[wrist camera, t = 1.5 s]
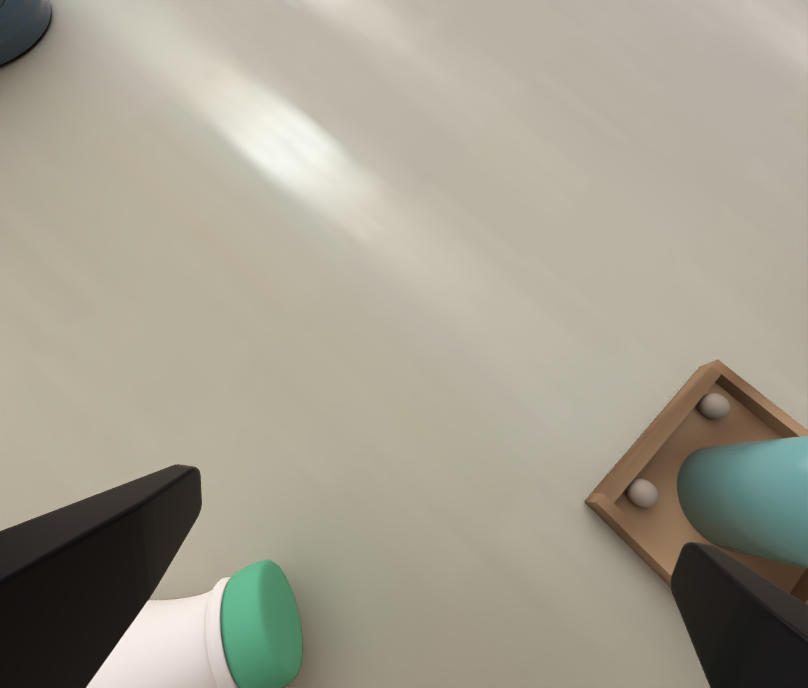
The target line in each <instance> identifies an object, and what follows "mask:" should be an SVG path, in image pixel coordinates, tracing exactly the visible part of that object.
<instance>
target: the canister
mask: <svg viewBox="0 0 808 688" xmlns="http://www.w3.org/2000/svg"><path fill="white" fill-rule="evenodd" d="M50 16H51V6H50V3H49V0H0V65H2V64H4V63H6V62H8V61H10V60H12V59H14V58H15V57H17V56H19V55H20V54H22V53H23V52H25V51H26V50H27V49H28V48H30V47H31V46H32V45H33V44H34V43H35V42H36V41H37V40H38V39H39V38H40V37H41V35H42V34H43V33H44V31H45V30H46V28H47V26H48V23H49V20H50Z"/></svg>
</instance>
